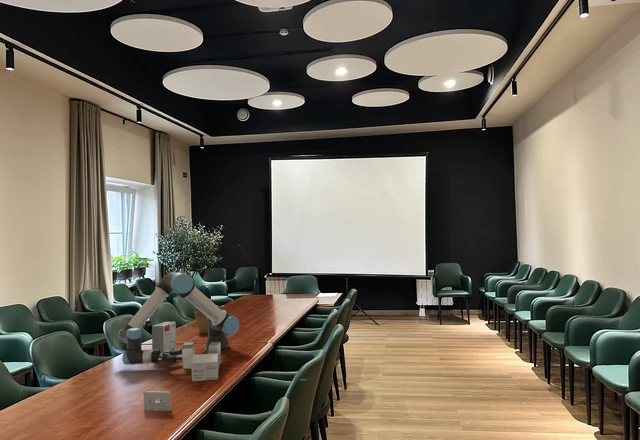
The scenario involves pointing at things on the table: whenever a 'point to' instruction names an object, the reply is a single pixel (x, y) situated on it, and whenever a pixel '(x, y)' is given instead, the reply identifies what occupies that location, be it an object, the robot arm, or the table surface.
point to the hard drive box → (164, 336)
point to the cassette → (157, 405)
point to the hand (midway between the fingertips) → (191, 354)
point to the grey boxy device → (215, 350)
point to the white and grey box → (188, 350)
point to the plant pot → (201, 321)
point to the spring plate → (205, 351)
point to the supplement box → (205, 367)
